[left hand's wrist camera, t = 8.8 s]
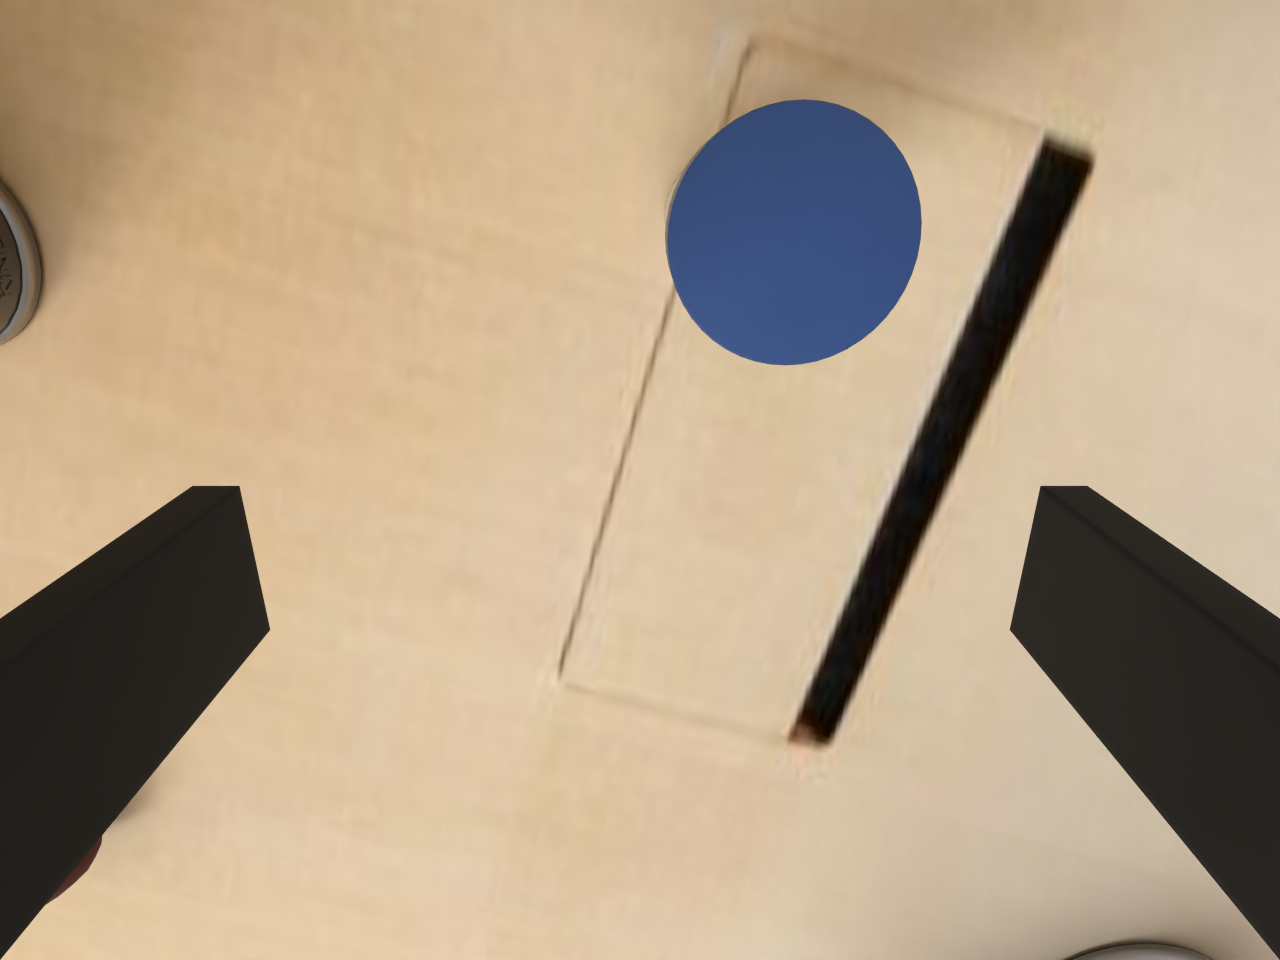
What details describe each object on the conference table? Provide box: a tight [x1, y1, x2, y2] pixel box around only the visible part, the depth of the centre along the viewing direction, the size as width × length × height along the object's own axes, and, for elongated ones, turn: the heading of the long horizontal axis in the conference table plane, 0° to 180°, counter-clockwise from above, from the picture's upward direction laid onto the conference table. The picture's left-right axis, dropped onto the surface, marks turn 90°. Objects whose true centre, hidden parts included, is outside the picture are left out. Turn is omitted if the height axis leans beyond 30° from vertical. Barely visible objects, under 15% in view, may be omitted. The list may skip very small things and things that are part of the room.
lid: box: [665, 100, 922, 365], centre depth 17 cm, size 6×6×2 cm
